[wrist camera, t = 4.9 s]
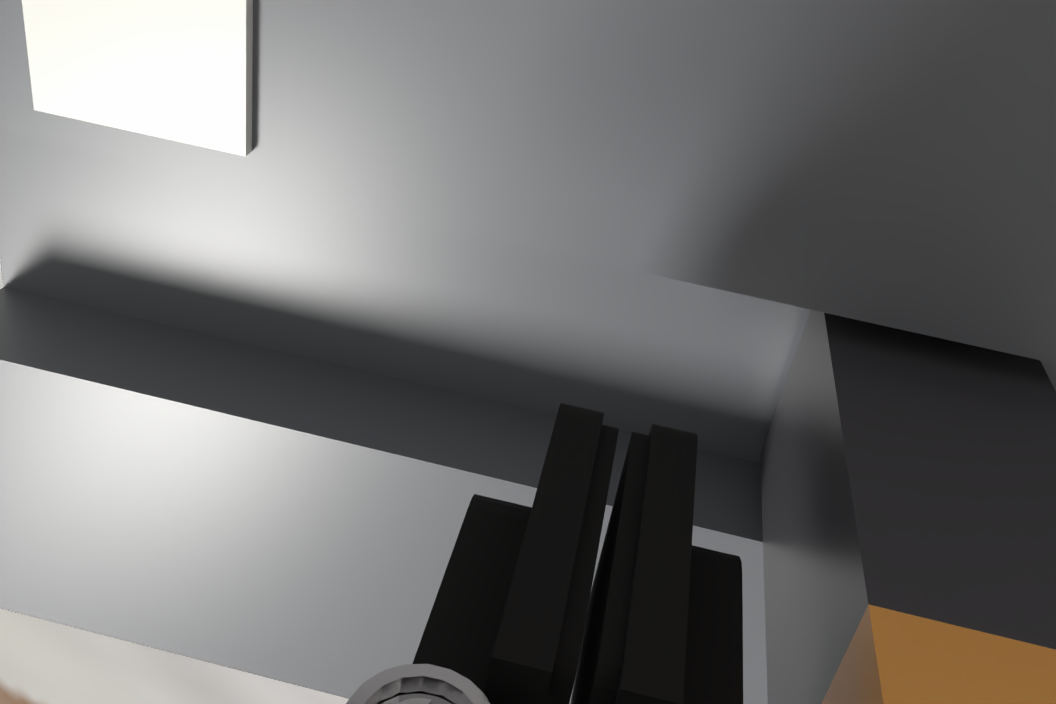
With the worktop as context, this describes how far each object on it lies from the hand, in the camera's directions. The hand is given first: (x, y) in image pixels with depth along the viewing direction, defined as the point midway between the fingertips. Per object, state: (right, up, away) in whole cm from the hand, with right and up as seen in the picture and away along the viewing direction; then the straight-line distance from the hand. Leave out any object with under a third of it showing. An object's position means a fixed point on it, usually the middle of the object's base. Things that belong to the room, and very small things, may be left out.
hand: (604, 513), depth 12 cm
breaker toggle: (+5, +1, +3) cm, 6 cm away
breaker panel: (0, +4, +6) cm, 7 cm away
